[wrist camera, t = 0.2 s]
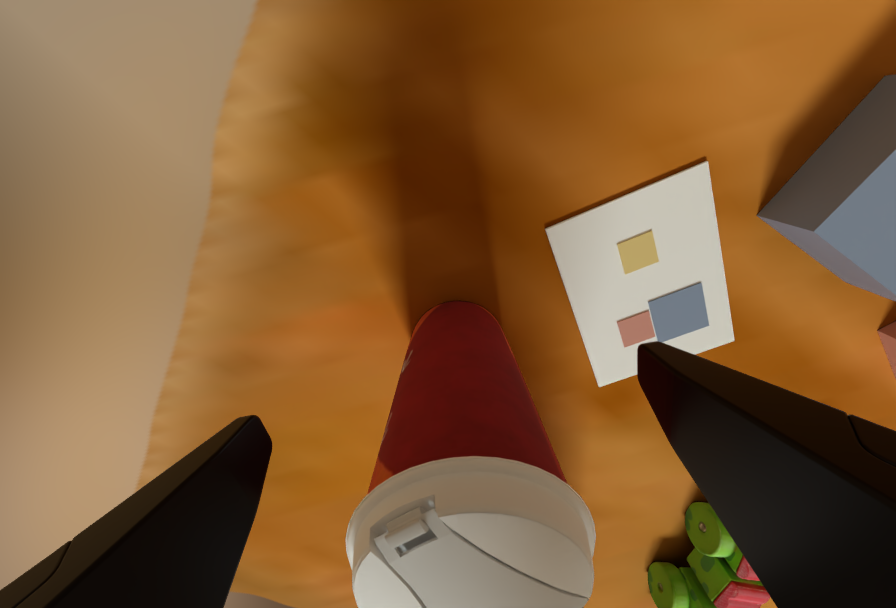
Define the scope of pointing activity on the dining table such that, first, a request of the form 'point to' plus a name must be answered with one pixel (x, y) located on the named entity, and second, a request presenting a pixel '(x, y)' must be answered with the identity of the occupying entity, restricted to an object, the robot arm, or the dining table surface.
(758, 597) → the green bumpy elongated piece
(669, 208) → the page
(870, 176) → the base brick
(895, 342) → the brick column
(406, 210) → the dining table surface
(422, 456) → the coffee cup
